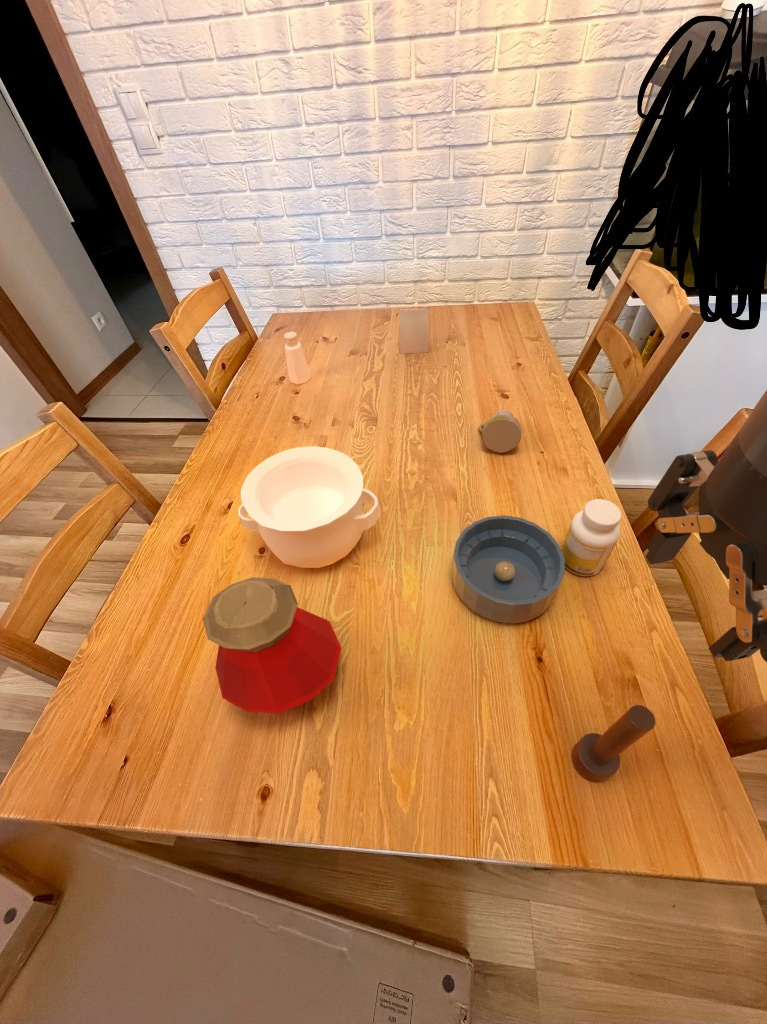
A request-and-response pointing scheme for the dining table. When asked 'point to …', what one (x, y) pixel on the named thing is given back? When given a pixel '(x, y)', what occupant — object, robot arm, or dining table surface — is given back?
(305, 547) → the pot
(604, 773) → the masher
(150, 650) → the dining table surface
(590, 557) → the pill bottle
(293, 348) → the salt shaker
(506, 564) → the bead
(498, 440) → the mug
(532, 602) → the bowl
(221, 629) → the red jar
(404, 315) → the grey rectangular block
